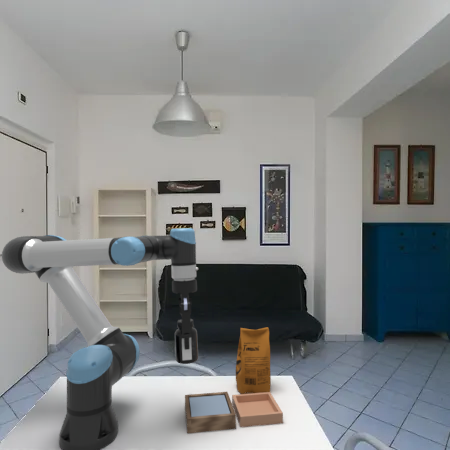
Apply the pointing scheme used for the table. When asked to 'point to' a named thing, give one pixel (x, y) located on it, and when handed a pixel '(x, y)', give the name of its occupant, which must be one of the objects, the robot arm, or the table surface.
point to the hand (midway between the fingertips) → (186, 354)
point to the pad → (208, 405)
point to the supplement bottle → (179, 344)
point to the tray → (256, 409)
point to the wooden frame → (210, 416)
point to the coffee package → (253, 361)
